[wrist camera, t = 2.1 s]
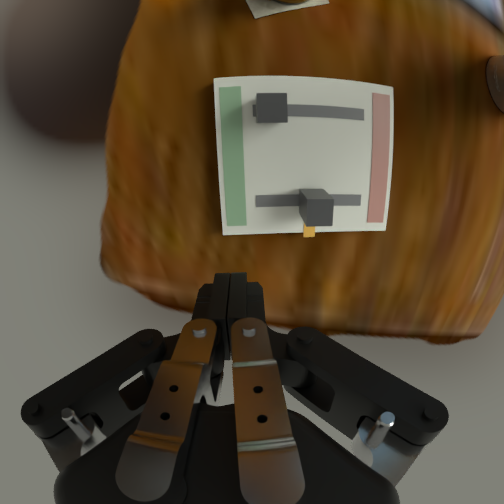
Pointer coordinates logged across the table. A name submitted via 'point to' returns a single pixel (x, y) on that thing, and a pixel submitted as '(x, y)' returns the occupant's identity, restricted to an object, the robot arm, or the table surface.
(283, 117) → the block
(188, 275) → the table surface
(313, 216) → the block
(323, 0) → the condiment
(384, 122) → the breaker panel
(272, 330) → the robot arm
